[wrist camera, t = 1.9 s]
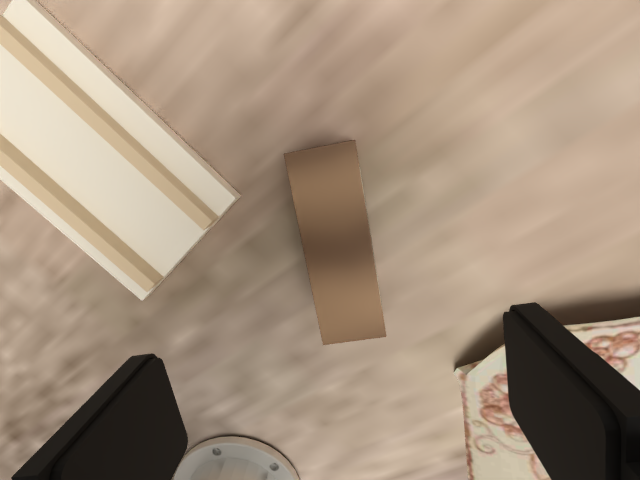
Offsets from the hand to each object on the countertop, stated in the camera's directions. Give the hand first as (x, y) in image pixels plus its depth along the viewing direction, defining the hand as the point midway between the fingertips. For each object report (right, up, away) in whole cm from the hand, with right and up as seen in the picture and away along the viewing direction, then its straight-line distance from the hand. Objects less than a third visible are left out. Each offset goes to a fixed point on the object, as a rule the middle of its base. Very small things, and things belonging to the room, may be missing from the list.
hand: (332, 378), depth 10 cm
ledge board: (-18, +10, +20) cm, 28 cm away
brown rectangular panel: (+1, +5, +20) cm, 20 cm away
